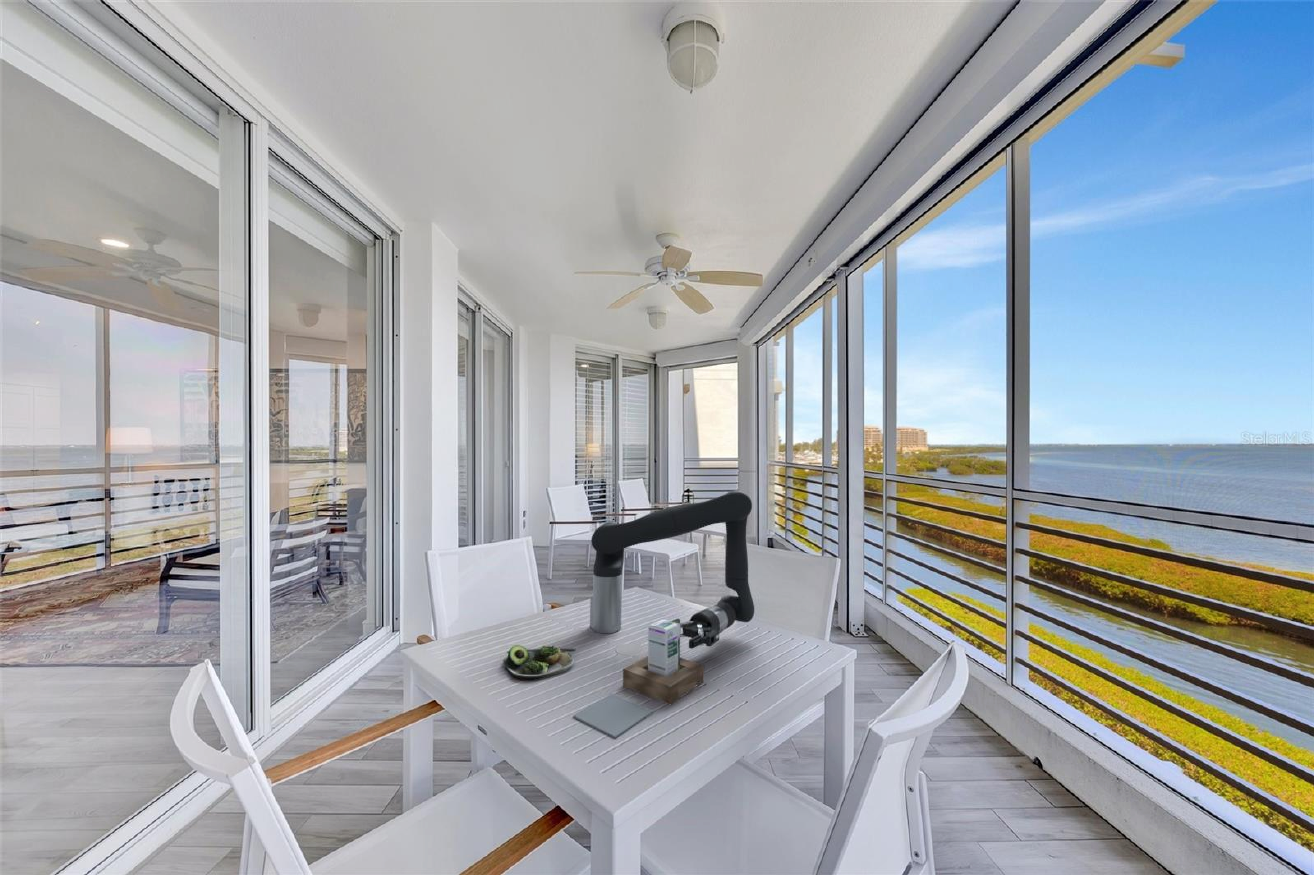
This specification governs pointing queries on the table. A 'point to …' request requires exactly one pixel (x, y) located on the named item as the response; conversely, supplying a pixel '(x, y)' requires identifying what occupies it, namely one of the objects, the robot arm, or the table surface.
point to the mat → (613, 715)
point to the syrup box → (664, 647)
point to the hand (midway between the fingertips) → (675, 640)
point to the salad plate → (536, 661)
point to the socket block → (663, 680)
